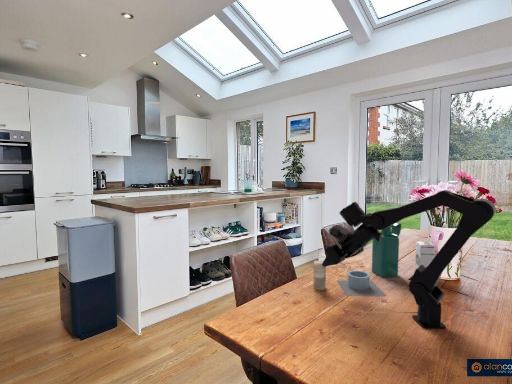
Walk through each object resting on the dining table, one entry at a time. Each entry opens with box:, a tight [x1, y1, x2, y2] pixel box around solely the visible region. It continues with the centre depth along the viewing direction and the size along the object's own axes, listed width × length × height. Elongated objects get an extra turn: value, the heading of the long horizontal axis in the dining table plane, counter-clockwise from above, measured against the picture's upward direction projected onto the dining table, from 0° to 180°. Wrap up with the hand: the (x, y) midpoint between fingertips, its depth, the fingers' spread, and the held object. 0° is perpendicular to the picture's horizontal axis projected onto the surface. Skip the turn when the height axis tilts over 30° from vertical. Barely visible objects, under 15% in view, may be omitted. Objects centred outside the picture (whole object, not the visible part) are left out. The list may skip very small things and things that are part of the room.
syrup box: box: [414, 241, 436, 271], centre depth 120 cm, size 6×6×14 cm
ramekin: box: [346, 270, 371, 290], centre depth 111 cm, size 8×8×4 cm
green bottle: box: [371, 222, 402, 278], centre depth 124 cm, size 10×8×22 cm
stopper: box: [313, 260, 327, 291], centre depth 109 cm, size 4×4×10 cm
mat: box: [336, 280, 387, 297], centre depth 109 cm, size 14×14×1 cm
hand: (329, 262), depth 106 cm, fingers open, 9 cm apart
